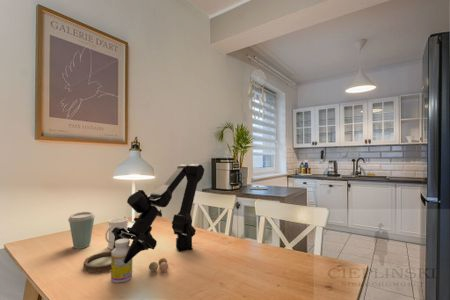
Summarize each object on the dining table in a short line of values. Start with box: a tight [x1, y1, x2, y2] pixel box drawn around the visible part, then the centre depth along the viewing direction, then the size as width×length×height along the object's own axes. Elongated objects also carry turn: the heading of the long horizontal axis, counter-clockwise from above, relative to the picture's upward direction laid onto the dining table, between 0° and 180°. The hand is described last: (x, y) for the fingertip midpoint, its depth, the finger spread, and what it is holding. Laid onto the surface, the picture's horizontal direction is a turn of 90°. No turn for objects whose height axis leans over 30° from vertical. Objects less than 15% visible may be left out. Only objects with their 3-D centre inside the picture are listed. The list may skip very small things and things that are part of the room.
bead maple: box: [148, 261, 159, 273], centre depth 86 cm, size 3×3×3 cm
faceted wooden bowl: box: [82, 250, 112, 274], centre depth 92 cm, size 14×14×2 cm
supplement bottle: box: [110, 239, 133, 284], centre depth 81 cm, size 7×7×13 cm
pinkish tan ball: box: [158, 262, 169, 273], centre depth 86 cm, size 3×3×3 cm
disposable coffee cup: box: [68, 211, 95, 250], centre depth 110 cm, size 11×11×15 cm
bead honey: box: [157, 257, 168, 267], centre depth 90 cm, size 3×3×3 cm
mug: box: [104, 217, 129, 250], centre depth 109 cm, size 12×8×12 cm
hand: (118, 260), depth 80 cm, fingers closed on supplement bottle, 7 cm apart
